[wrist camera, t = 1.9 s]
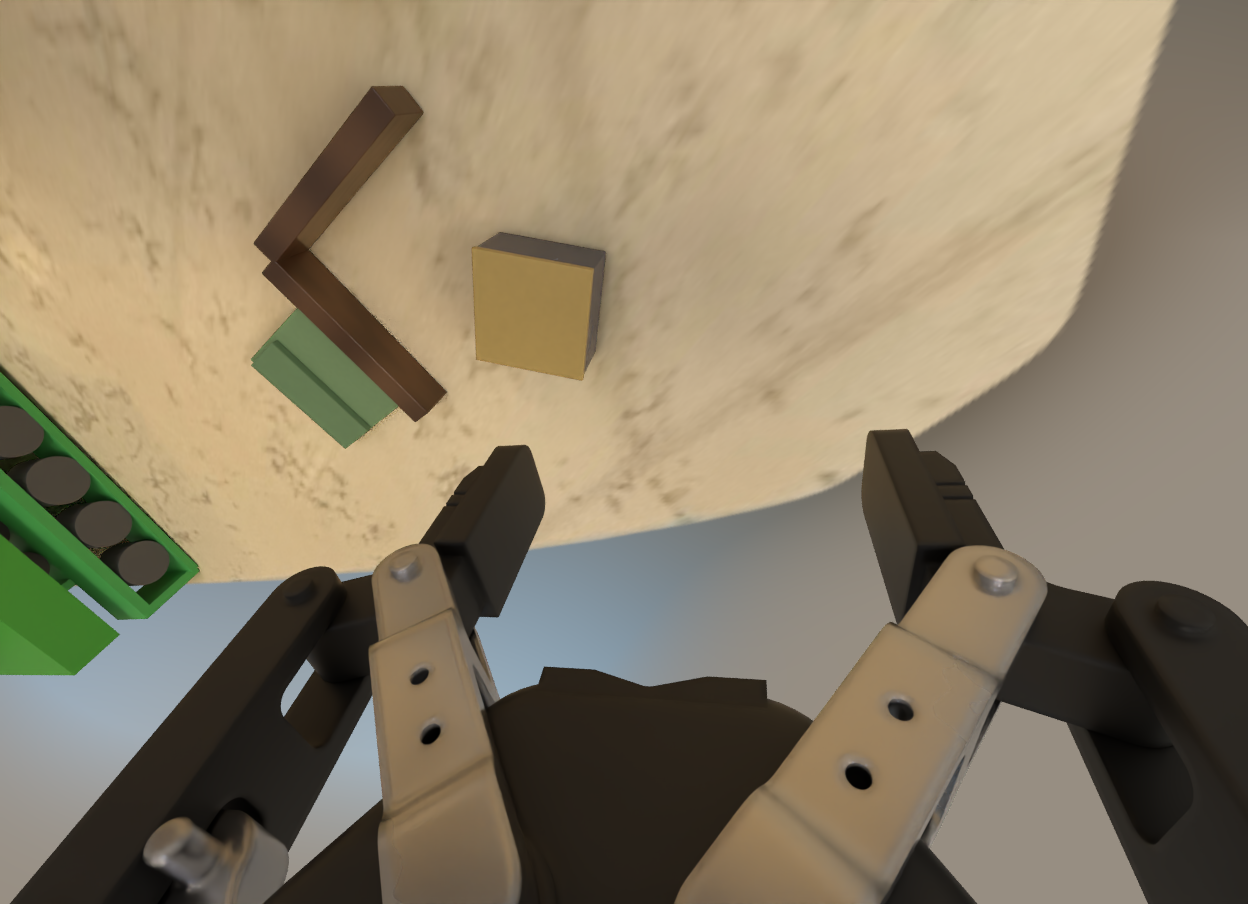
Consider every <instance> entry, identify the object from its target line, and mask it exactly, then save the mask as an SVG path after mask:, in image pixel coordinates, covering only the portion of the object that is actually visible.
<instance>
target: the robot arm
mask: <svg viewBox="0 0 1248 904" xmlns="http://www.w3.org/2000/svg"><path fill="white" fill-rule="evenodd" d="M861 492H862V507H863V513H864V516H865V520H866V523H867V526H868V530H869V533H870V536H871V539H872V543H873V546H874V549H875V553H876V556H877V559H878V563H879V566H880V569H881V573H882V576H883V579H884V583H885V586H886V589H887V593H888V596H889V599H890V603H891V606H892V609H893V612H894V616H895V619H896V622H897V625H896V624H894V623H893V622H889V623H887V624H886V625H885V626H884V627H883V628H882V630H881V631H880V632H879V633H878V635H877V636H876V637H875V639H874V640H873V642H872V643H871V644H870V645H869V647H868V648H867V650H866V651H865V652H864V654H863V655H862V656H861V658H860V659H859V660H858V662H857V663H856V664H855V666H854V667H853V668H852V670H851V671H850V672H849V674H848V675H847V677H846V678H845V679H844V681H843V682H842V683H841V685H840V686H839V687H838V689H837V690H836V691H835V693H834V694H833V695H832V697H831V698H830V700H829V701H828V702H827V704H826V705H825V706H824V708H823V709H822V710H821V712H820V713H819V714H818V716H817V717H816V718H815V720H814V721H812V720H811V719H810V718H808V717H807V716H805V715H803V714H801V713H800V712H798V711H796V710H795V709H793V708H790V707H788V706H786V705H784V704H782V703H779V702H776V701H773V700H770V699H767V685H766V680H755V679H738V678H723V677H702V678H697V679H691V680H686V681H680V682H675V683H669V684H663V685H658V686H651V687H648V686H642V685H639V684H636V683H633V682H630V681H627V680H624V679H621V678H618V677H615V676H612V675H609V674H606V673H603V672H600V671H597V670H591V669H574V668H557V667H544V668H543V671H542V674H541V678H540V681H539V684H537V685H533V686H530V687H526V688H523V689H520V690H518V691H516V692H514V693H511V694H509V695H507V696H505V697H503V698H502V699H500V697H499V695H498V692H497V689H496V686H495V683H494V680H493V677H492V674H491V671H490V668H489V665H488V662H487V659H486V656H485V653H484V650H483V647H482V644H481V641H480V638H479V635H478V633H477V631H476V629H475V625H476V623H477V621H478V619H479V617H499V615H500V613H501V611H502V608H503V606H504V604H505V601H506V599H507V597H508V595H509V592H510V590H511V588H512V586H513V583H514V581H515V579H516V577H517V574H518V572H519V570H520V567H521V565H522V563H523V560H524V559H525V556H526V554H527V552H528V549H529V547H530V545H531V543H532V540H533V538H534V536H535V534H536V531H537V529H538V527H539V525H540V522H541V520H542V518H543V515H544V511H545V495H544V491H543V488H542V484H541V481H540V478H539V475H538V472H537V468H536V465H535V462H534V459H533V456H532V453H531V450H530V448H529V447H528V446H526V445H514V446H498V447H496V448H495V449H494V451H493V452H492V454H491V455H490V457H489V458H488V460H487V461H486V463H485V464H484V466H478V467H477V468H476V469H475V470H473V471H472V472H471V473H470V474H468V475H467V476H466V477H465V478H463V480H462V481H461V483H460V484H459V486H458V487H457V488H456V490H455V491H454V495H452V496H451V497H450V499H449V500H448V502H447V503H446V506H444V507H443V509H442V510H441V512H440V513H439V515H438V516H437V518H436V519H435V520H434V522H433V523H432V525H431V526H430V528H429V529H428V531H427V532H426V534H425V535H424V537H423V538H422V539H421V541H420V542H419V544H413V545H409V546H406V547H403V548H401V549H398V550H396V551H395V552H393V553H391V554H390V555H388V556H387V557H386V558H385V559H384V560H382V561H381V562H380V564H379V565H378V566H377V567H376V569H375V570H374V573H373V574H372V575H368V576H364V577H360V578H356V579H352V580H348V581H344V582H341V581H340V579H339V578H338V576H337V575H336V573H335V571H334V570H333V569H331V568H329V567H323V566H320V567H313V568H309V569H306V570H303V571H301V572H299V573H297V574H295V575H293V576H291V577H290V578H288V579H287V580H285V581H284V582H283V583H281V584H280V585H279V586H278V587H277V588H276V589H275V590H274V591H273V592H272V593H271V595H270V596H269V597H268V598H267V599H266V601H265V602H264V603H263V604H262V605H261V606H260V608H259V609H258V610H257V611H256V613H255V614H254V615H253V616H252V617H251V618H250V620H249V621H248V622H247V623H246V624H245V626H244V627H243V628H242V629H241V630H240V631H239V633H238V634H237V635H236V636H235V637H234V638H233V640H232V641H231V642H230V643H229V644H228V646H227V647H226V648H225V649H224V650H223V652H222V653H221V654H220V655H219V656H218V658H217V659H216V660H215V661H214V662H213V663H212V665H211V666H210V667H209V668H208V669H207V671H206V672H205V673H204V674H203V675H202V677H201V678H200V679H199V680H198V681H197V683H196V684H195V685H194V686H193V687H192V688H191V690H190V691H189V692H188V693H187V694H186V695H185V697H184V698H183V699H182V700H181V701H180V703H179V704H178V705H177V706H176V707H175V709H174V710H173V711H172V712H171V713H170V714H169V716H168V717H167V718H166V719H165V720H164V722H163V723H162V724H161V725H160V726H159V727H158V729H157V730H156V731H155V732H154V733H153V735H152V736H151V737H150V738H149V739H148V741H147V742H146V743H145V744H144V745H143V747H142V748H141V749H140V750H139V751H138V752H137V754H136V755H135V756H134V757H133V758H132V759H131V761H130V762H129V763H128V764H127V765H126V767H125V768H124V769H123V770H122V771H121V773H120V774H119V775H118V776H117V777H116V779H115V780H114V781H113V782H112V783H111V784H110V786H109V787H108V788H107V789H106V790H105V791H104V793H103V794H102V795H101V796H100V797H99V799H98V800H97V801H96V802H95V803H94V805H93V806H92V807H91V808H90V809H89V811H88V812H87V813H86V814H85V815H84V816H83V818H82V819H81V820H80V821H79V822H78V824H77V825H76V826H75V827H74V828H73V829H72V831H71V832H70V833H69V835H67V837H66V838H65V839H64V840H63V841H62V842H61V844H60V845H59V846H58V847H57V849H56V850H55V851H54V852H53V853H52V854H51V856H50V857H49V858H48V859H47V860H46V861H45V863H44V864H43V865H42V866H41V867H40V869H39V870H38V871H37V872H36V874H35V875H34V876H33V877H32V878H31V879H30V880H29V882H28V883H27V884H26V885H25V886H24V888H23V889H22V890H21V891H20V892H19V893H18V895H17V896H16V897H15V898H14V899H13V901H12V902H11V903H10V904H977V903H976V902H975V901H974V899H973V898H972V897H971V896H970V895H969V894H968V893H967V891H966V890H965V889H964V888H963V887H962V886H961V884H960V883H959V882H958V881H957V880H956V879H955V878H954V876H953V875H952V874H951V873H950V872H949V870H948V869H947V868H946V867H945V866H944V865H943V864H942V862H941V861H940V860H939V859H938V858H937V857H936V856H935V854H934V853H933V852H932V851H931V850H930V847H931V846H932V844H933V841H934V840H935V838H936V836H937V834H938V832H939V830H940V828H941V826H942V823H943V822H944V819H945V817H946V815H947V813H948V811H949V809H950V807H951V805H952V802H953V800H954V798H955V796H956V794H957V791H958V789H959V787H960V785H961V783H962V781H963V778H964V777H965V775H966V773H967V771H968V769H969V767H970V764H971V763H972V761H973V759H974V757H975V755H976V753H977V751H978V749H979V747H980V745H981V743H982V741H983V739H984V737H985V735H986V733H987V731H988V729H989V727H990V725H991V723H992V721H993V719H994V717H995V715H996V713H997V711H998V709H999V707H1000V705H1001V703H1002V702H1005V703H1008V704H1011V705H1014V706H1017V707H1020V708H1024V709H1027V710H1030V711H1033V712H1036V713H1039V714H1042V715H1046V716H1048V717H1051V718H1055V719H1057V720H1061V721H1064V722H1066V723H1067V725H1068V727H1069V729H1070V731H1071V734H1072V736H1073V738H1074V740H1075V743H1076V745H1077V747H1078V749H1079V751H1080V753H1081V756H1082V758H1083V760H1084V763H1085V765H1086V767H1087V769H1088V771H1089V773H1090V776H1091V778H1092V780H1093V783H1094V785H1095V787H1096V789H1097V791H1098V794H1099V796H1100V798H1101V800H1102V803H1103V805H1104V807H1105V809H1106V811H1107V814H1108V816H1109V818H1110V820H1111V823H1112V825H1113V827H1114V829H1115V831H1116V834H1117V836H1118V838H1119V840H1120V843H1121V845H1122V847H1123V849H1124V851H1125V853H1126V856H1127V858H1128V860H1129V862H1130V865H1131V867H1132V869H1133V871H1134V874H1135V876H1136V878H1137V880H1138V882H1139V885H1140V887H1141V889H1142V891H1143V894H1144V896H1145V898H1146V900H1147V902H1148V904H1248V626H1247V625H1246V624H1245V623H1244V622H1243V621H1242V620H1241V619H1240V618H1239V617H1238V616H1237V615H1236V614H1235V613H1234V612H1232V611H1231V610H1230V609H1229V608H1227V607H1225V606H1224V605H1223V604H1221V603H1220V602H1218V601H1216V600H1214V599H1212V598H1211V597H1208V596H1206V595H1204V594H1202V593H1200V592H1198V591H1195V590H1192V589H1189V588H1186V587H1183V586H1180V585H1176V584H1172V583H1166V582H1159V581H1139V582H1134V583H1130V584H1128V585H1126V586H1124V587H1122V588H1121V590H1120V591H1119V592H1118V594H1117V596H1116V598H1115V599H1111V598H1106V597H1102V596H1098V595H1093V594H1089V593H1085V592H1080V591H1075V590H1071V589H1067V588H1063V587H1060V586H1056V585H1054V584H1051V583H1048V582H1046V580H1045V578H1044V577H1043V575H1042V574H1041V572H1040V571H1039V570H1038V569H1037V568H1036V567H1035V566H1034V565H1033V564H1031V563H1030V562H1029V561H1027V560H1026V559H1024V558H1022V557H1020V556H1018V555H1017V554H1014V553H1012V552H1010V551H1007V550H1004V548H1003V546H1002V545H1001V543H1000V541H999V540H998V538H997V536H996V534H995V533H994V531H993V529H992V527H991V526H990V524H989V522H988V521H987V519H986V517H985V515H984V514H983V512H982V510H981V509H980V507H979V505H978V503H977V502H976V500H975V499H973V495H972V493H971V491H970V490H969V488H968V486H967V485H965V481H964V479H963V477H962V476H961V474H960V472H959V471H958V469H957V467H956V465H954V464H953V463H952V462H950V461H949V460H948V459H946V458H945V457H943V456H942V455H941V454H939V453H938V452H936V451H922V452H920V451H919V449H918V448H917V445H916V444H915V442H914V439H913V438H912V436H911V434H910V432H909V430H907V429H896V430H874V431H869V433H868V436H867V442H866V451H865V460H864V469H863V479H862V491H861ZM306 659H307V661H308V662H309V663H310V664H311V666H312V667H313V668H314V669H315V670H314V672H313V674H312V675H311V677H310V678H309V680H308V681H307V683H306V684H305V686H304V687H303V689H302V690H301V692H300V693H299V695H298V697H297V698H296V699H295V701H294V702H293V704H292V705H291V707H290V709H289V710H288V712H287V713H286V715H285V716H284V717H283V715H282V712H281V699H282V696H283V693H284V691H285V690H286V688H287V686H288V685H289V683H290V682H291V681H292V679H293V678H294V676H295V675H296V673H297V672H298V670H299V669H300V667H301V666H302V665H303V663H304V661H305V660H306ZM372 695H373V705H374V715H375V724H376V725H375V726H376V735H377V746H378V755H379V766H380V776H381V787H382V797H383V799H381V800H380V801H379V802H378V803H377V804H376V805H375V806H373V807H372V808H371V809H370V810H369V811H368V812H366V813H365V814H364V815H363V816H362V817H361V818H360V819H359V820H357V821H356V822H355V823H354V824H353V825H351V826H350V827H349V828H348V829H347V830H346V831H345V832H344V833H342V834H341V835H340V836H339V837H338V838H337V839H335V840H334V841H333V842H332V843H331V844H330V845H329V846H327V847H326V848H325V849H324V850H323V851H322V852H320V853H319V854H318V855H317V856H316V857H315V858H314V859H313V860H311V861H310V862H309V863H308V864H307V865H305V866H304V867H303V868H302V869H301V870H300V871H299V872H297V873H296V874H295V875H294V876H293V877H292V878H291V879H289V880H288V881H287V882H286V883H285V884H284V881H285V879H286V875H287V872H288V865H289V856H288V852H289V850H290V848H291V846H292V844H293V842H294V841H295V839H296V837H297V835H298V833H299V831H300V829H301V827H302V826H303V824H304V822H305V820H306V818H307V816H308V814H309V813H310V811H311V809H312V807H313V805H314V803H315V801H316V799H317V798H318V795H319V794H320V792H321V790H322V788H323V786H324V784H325V782H326V781H327V779H328V777H329V775H330V773H331V771H332V769H333V768H334V765H335V764H336V762H337V760H338V758H339V756H340V754H341V753H342V751H343V749H344V747H345V745H346V743H347V741H348V739H349V738H350V736H351V734H352V732H353V730H354V728H355V726H356V725H357V722H358V721H359V719H360V717H361V715H362V713H363V711H364V710H365V708H366V706H367V704H368V702H369V700H370V698H371V696H372ZM283 884H284V885H283Z"/></svg>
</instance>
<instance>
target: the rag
mask: <svg viewBox="0 0 1248 904" xmlns="http://www.w3.org/2000/svg"><path fill="white" fill-rule="evenodd" d="M251 361H253V362H254V363H253V364H252V365H251V366H252V367H254V368H255V369H256V370H257V371H258V372H259V373H260V374H261V375H263V376H264V377H265V378H266V379H267V380H268V381H269V382H270V383H272V384H273V385H274V386H275V387H276V388H277V389H278V390H279V391H281V392H282V393H283V394H284V395H285V396H286V397H287V398H288V399H290V400H291V401H292V402H293V403H294V404H295V405H296V406H298V407H299V408H300V409H301V410H302V411H303V412H304V413H305V414H307V415H308V416H309V417H310V418H311V419H312V420H313V421H314V422H316V423H317V424H318V425H319V426H320V427H321V428H322V429H323V430H325V431H326V432H327V433H328V434H329V435H330V436H331V437H332V438H334V439H335V440H336V441H337V442H338V443H339V444H340V445H342V446H343V447H344V448H345V449H346V448H347V447H348V446H350V445H351V444H352V443H354V442H355V441H356V440H357V439H359V438H360V437H361V436H362V435H364V434H365V433H366V432H367V431H369V430H370V429H371V428H372V427H373V426H374V425H375V424H377V423H378V422H379V421H380V420H382V419H383V418H384V417H386V416H387V415H388V414H389V413H391V412H392V411H393V410H394V409H396V408H397V407H398V405H397V404H396V403H395V402H394V401H393V400H392V399H391V398H390V397H389V396H388V395H387V394H385V393H384V392H383V391H382V390H381V389H380V388H379V387H378V386H377V385H376V384H375V383H374V382H373V381H372V380H371V379H370V378H369V377H368V376H367V375H366V374H365V373H364V372H363V371H362V370H361V369H360V368H359V367H358V366H357V365H356V364H355V363H354V362H353V361H351V360H350V359H349V358H348V357H347V356H346V355H345V354H344V353H343V352H342V351H341V350H340V349H339V348H338V347H337V346H336V345H335V344H334V343H333V342H332V341H331V340H330V339H329V338H328V337H327V336H326V335H325V334H324V333H323V332H322V331H321V330H320V329H319V328H317V327H316V326H315V325H314V324H313V323H312V322H311V321H310V320H309V319H308V318H307V317H306V316H305V315H304V314H303V313H302V312H301V311H300V310H299V309H298V308H297V309H296V310H295V311H294V312H293V313H292V314H291V315H290V317H289V318H288V319H287V320H286V321H285V322H284V323H283V324H282V325H281V327H280V328H279V329H278V330H277V331H276V332H275V333H274V334H273V335H272V336H271V338H270V339H269V340H268V341H267V342H266V343H265V344H264V345H263V346H262V348H261V349H260V350H259V351H258V352H257V353H256V354H255V355H254V356H253V357H252V359H251Z"/></svg>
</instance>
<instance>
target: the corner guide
mask: <svg viewBox="0 0 1248 904" xmlns="http://www.w3.org/2000/svg"><path fill="white" fill-rule="evenodd" d="M422 114H423V111H422V110H421V108H420V107H419V106H418V104H417V103H416V102H415V101H414V99H413V98H412V97H411V96H410V94H409V93H408V92H407V90H406V89H405V88H404V87H403V86H372V87H371V88H370V90H369V91H368V92H367V93H366V95H365V96H364V97H363V99H362V100H361V101H360V103H359V104H358V105H357V107H356V108H355V109H354V111H353V112H352V113H351V115H350V116H349V117H348V119H347V120H346V121H345V123H344V124H343V125H342V127H341V128H340V129H339V131H338V132H337V133H336V134H335V136H334V137H333V138H332V140H331V141H330V142H329V144H328V145H327V146H326V148H325V149H324V150H323V152H322V153H321V154H320V156H319V157H318V158H317V160H316V161H315V162H314V164H313V165H312V166H311V168H310V169H309V170H308V172H307V173H306V174H305V175H304V177H303V178H302V179H301V181H300V182H299V183H298V185H297V186H296V187H295V189H294V190H293V191H292V193H291V194H290V195H289V197H288V198H287V199H286V201H285V202H284V203H283V205H282V206H281V207H280V209H279V210H278V211H277V213H276V214H275V215H274V216H273V218H272V219H271V220H270V222H269V223H268V224H267V226H266V227H265V228H264V230H263V231H262V232H261V234H260V235H259V236H258V238H257V239H256V240H255V242H254V245H255V246H256V247H257V248H258V249H259V250H260V251H261V252H262V253H263V254H264V255H265V256H266V257H267V258H268V259H269V260H270V261H271V262H270V263H269V265H268V266H267V267H266V268H265V270H264V271H263V272H262V274H263V275H264V276H265V277H266V278H267V279H268V280H269V281H270V282H271V283H272V284H273V285H274V286H275V287H276V288H277V289H278V290H279V291H280V292H281V293H282V294H284V295H285V296H286V297H287V298H288V299H289V300H290V301H291V302H292V303H293V304H294V305H295V306H296V307H297V308H298V309H299V310H300V311H301V312H302V313H303V314H304V315H305V316H306V317H307V318H308V319H309V320H310V321H311V322H312V323H313V324H314V325H315V326H316V327H317V328H319V329H320V330H321V331H322V332H323V333H324V334H325V335H326V336H327V337H328V338H329V339H330V340H331V341H332V342H333V343H334V344H335V345H336V346H337V347H338V348H339V349H340V350H341V351H342V352H343V353H344V354H345V355H346V356H347V357H348V358H349V359H350V360H351V361H353V362H354V363H355V364H356V365H357V366H358V367H359V368H360V369H361V370H362V371H363V372H364V373H365V374H366V375H367V376H368V377H369V378H370V379H371V380H372V381H373V382H374V383H375V384H376V385H377V386H378V387H379V388H380V389H381V390H382V391H383V392H384V393H385V394H387V395H388V396H389V397H390V398H391V399H392V400H393V401H394V402H395V403H396V404H397V405H398V406H399V407H400V408H401V409H402V410H403V411H404V412H405V413H406V414H407V415H408V416H409V417H410V418H411V419H412V420H413V421H414V422H416V421H418V420H419V419H420V418H422V417H423V416H424V415H426V414H427V413H428V412H429V411H430V410H431V409H432V408H433V407H434V406H435V405H436V404H437V403H438V401H439V400H440V399H441V398H442V397H443V396H444V395H445V394H446V391H445V390H444V389H443V388H442V387H441V386H440V385H439V384H438V383H437V382H436V381H435V380H434V379H433V378H432V377H431V376H430V375H429V374H428V373H427V371H426V370H425V369H424V368H423V367H422V366H421V365H420V364H419V363H418V362H417V361H416V360H415V359H414V358H413V357H412V356H411V355H410V354H409V353H408V352H407V351H406V350H405V349H404V348H403V347H402V346H401V345H400V344H399V343H398V342H397V341H396V340H395V339H394V337H393V336H392V335H391V334H390V333H389V332H388V331H387V330H386V329H385V328H384V327H383V326H382V325H381V324H380V323H379V322H378V321H377V320H376V319H375V318H374V317H373V316H372V315H371V314H370V313H369V312H368V311H367V310H366V309H365V308H364V307H363V306H362V305H361V303H360V302H359V301H358V300H357V299H356V298H355V297H354V296H353V295H352V294H351V293H350V292H349V291H348V290H347V289H346V288H345V287H344V286H343V285H342V284H341V283H340V282H339V281H338V280H337V279H336V278H335V277H334V276H333V275H332V274H331V273H330V272H329V271H328V269H327V268H326V267H325V266H324V265H323V264H322V263H321V262H320V261H319V260H318V259H317V258H316V257H315V256H314V255H313V254H312V253H311V252H310V251H309V250H308V249H309V248H310V247H311V246H312V245H313V243H314V242H315V241H316V240H317V239H318V237H319V236H320V235H321V234H322V233H323V232H324V230H325V229H326V228H327V227H328V226H329V224H330V223H331V222H332V221H333V220H334V218H335V217H336V216H337V215H338V214H339V213H340V211H341V210H342V209H343V208H344V207H345V205H346V204H347V203H348V202H349V201H350V200H351V198H352V197H353V196H354V195H355V194H356V192H357V191H358V190H359V189H360V188H361V186H362V185H363V184H364V183H365V182H366V181H367V179H368V178H369V177H370V176H371V175H372V173H373V172H374V171H375V170H376V169H377V168H378V166H379V165H380V164H381V163H382V162H383V160H384V159H385V158H386V157H387V156H388V154H389V153H390V152H391V151H392V150H393V149H394V147H395V146H396V145H397V144H398V143H399V141H400V140H401V139H402V138H403V137H404V135H405V134H406V133H407V132H408V131H409V130H410V128H411V127H412V126H413V125H414V124H415V122H416V121H417V120H418V119H419V118H420V117H421V115H422Z"/></svg>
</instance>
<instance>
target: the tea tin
mask: <svg viewBox="0 0 1248 904" xmlns="http://www.w3.org/2000/svg"><path fill="white" fill-rule="evenodd" d="M605 257H606V252H605V251H600V250H595V249H589V248H584V247H579V246H573V245H568V244H562V243H557V242H551V241H546V240H540V239H535V238H529V237H524V236H518V235H513V234H507V233H502V232H499V233H498V234H496V235H494V236H493V237H491V238H490V239H488V240H487V241H485V242H483V243H482V244H480V245H479V246H474V247H472V267H473V291H474V315H475V339H476V360H481V361H486V362H491V363H496V364H501V365H506V366H511V367H516V368H521V369H526V370H531V371H536V372H541V373H546V374H551V375H556V376H561V377H566V378H571V379H576V380H581V381H582V380H583V378H584V373H585V371H586V369H587V367H588V365H589V363H590V361H591V359H592V357H593V356H594V354H595V351H596V342H597V332H598V323H599V314H600V304H601V295H602V285H603V276H604V266H605Z"/></svg>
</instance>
